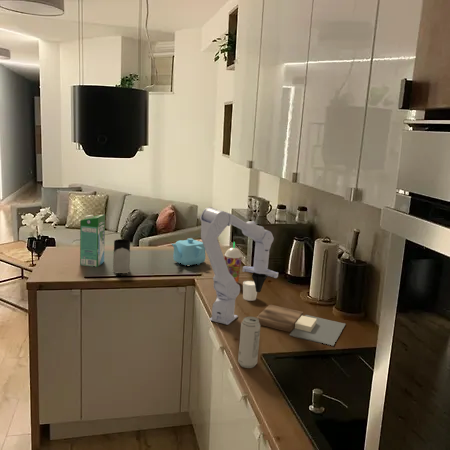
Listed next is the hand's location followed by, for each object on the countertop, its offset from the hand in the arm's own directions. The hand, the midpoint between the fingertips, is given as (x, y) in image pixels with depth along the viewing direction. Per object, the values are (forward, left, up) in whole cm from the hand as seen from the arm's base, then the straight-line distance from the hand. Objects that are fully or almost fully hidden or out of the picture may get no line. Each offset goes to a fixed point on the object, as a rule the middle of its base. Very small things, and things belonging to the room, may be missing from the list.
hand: (258, 291), depth 194 cm
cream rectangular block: (-4, -22, -8) cm, 23 cm away
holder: (+12, +76, -9) cm, 77 cm away
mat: (-4, -26, -8) cm, 28 cm away
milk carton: (+11, +93, -9) cm, 94 cm away
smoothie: (+26, +23, -9) cm, 36 cm away
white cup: (+12, +8, -9) cm, 17 cm away
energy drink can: (-43, -13, -9) cm, 46 cm away
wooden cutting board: (-4, -11, -8) cm, 14 cm away
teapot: (+40, +55, -9) cm, 69 cm away
